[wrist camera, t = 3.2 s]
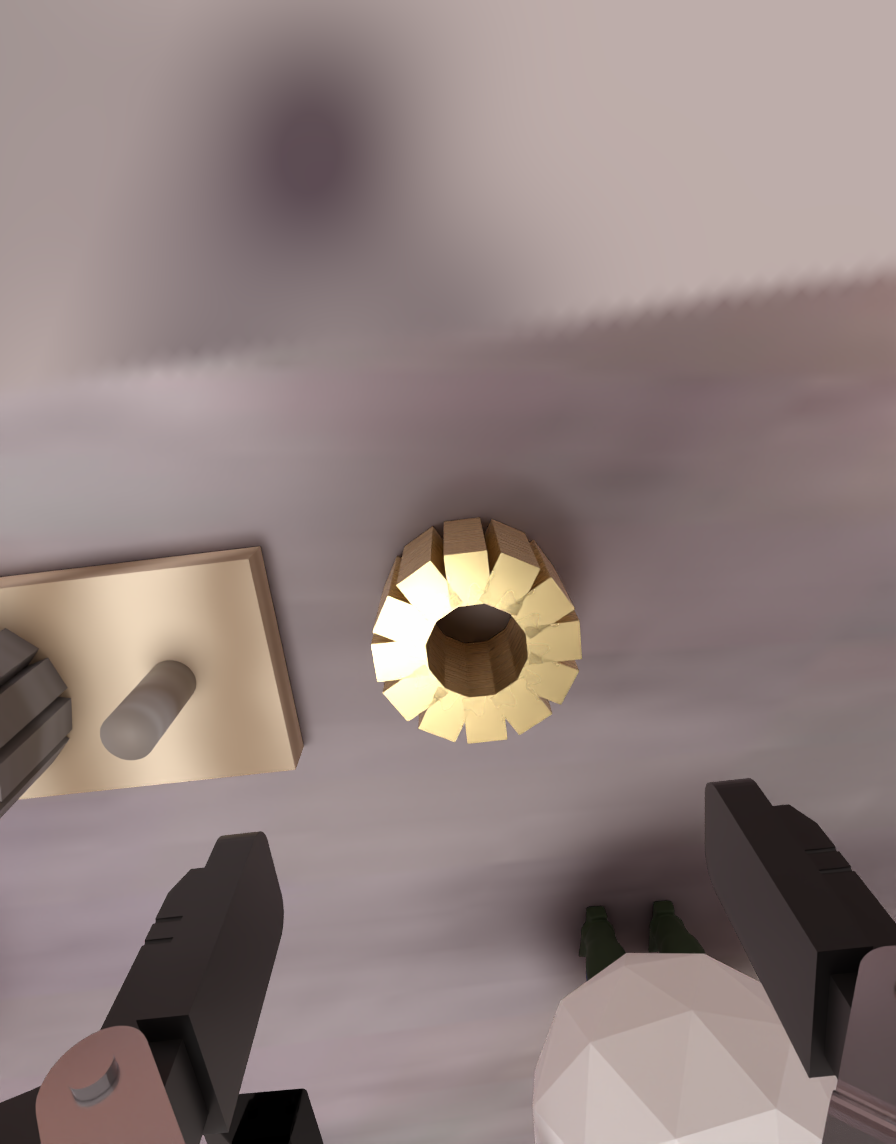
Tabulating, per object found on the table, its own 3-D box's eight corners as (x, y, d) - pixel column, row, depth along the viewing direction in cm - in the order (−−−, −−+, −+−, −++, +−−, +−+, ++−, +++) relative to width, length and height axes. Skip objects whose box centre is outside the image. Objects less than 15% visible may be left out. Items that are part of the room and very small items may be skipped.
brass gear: (552, 508, 23) (574, 540, 19) (564, 672, 25) (586, 730, 21) (371, 529, 23) (357, 565, 19) (397, 690, 25) (389, 751, 21)
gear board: (260, 546, 23) (200, 610, 18) (303, 746, 26) (263, 859, 20) (-132, 592, 24) (-314, 670, 18) (-52, 785, 26) (-190, 906, 20)
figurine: (432, 1043, 31) (423, 1536, 18) (405, 856, 27) (371, 1295, 15) (832, 1012, 30) (1115, 1496, 17) (853, 818, 27) (1220, 1238, 14)
